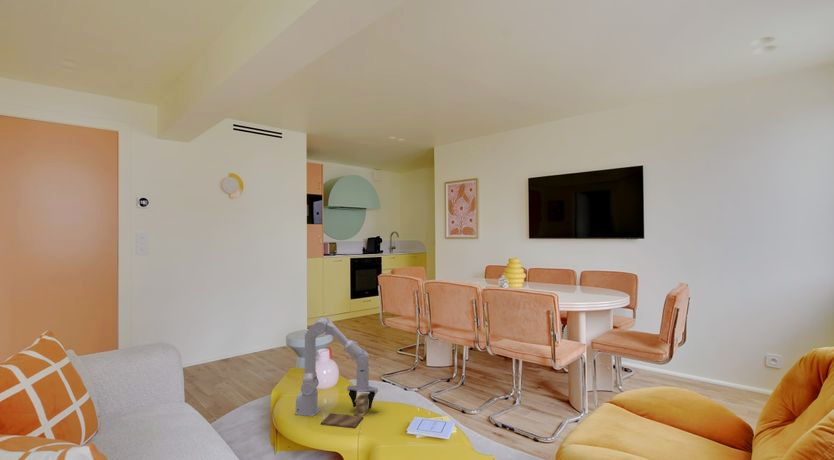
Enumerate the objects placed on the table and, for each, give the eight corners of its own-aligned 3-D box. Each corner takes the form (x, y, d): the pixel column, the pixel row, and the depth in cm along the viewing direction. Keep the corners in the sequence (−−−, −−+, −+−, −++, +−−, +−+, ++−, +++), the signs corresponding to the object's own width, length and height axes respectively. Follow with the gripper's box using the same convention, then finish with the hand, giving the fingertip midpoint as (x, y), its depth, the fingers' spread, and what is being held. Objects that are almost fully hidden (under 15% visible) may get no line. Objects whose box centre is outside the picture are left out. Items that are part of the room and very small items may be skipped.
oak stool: (354, 415, 183) (354, 400, 183) (361, 407, 192) (362, 392, 193) (362, 416, 182) (362, 401, 182) (369, 408, 192) (369, 393, 192)
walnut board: (320, 424, 173) (320, 422, 173) (330, 415, 183) (330, 413, 183) (355, 428, 170) (355, 426, 170) (363, 418, 180) (363, 416, 180)
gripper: (344, 379, 185) (344, 409, 185) (374, 381, 182) (374, 412, 182) (350, 374, 192) (350, 403, 192) (379, 377, 189) (379, 406, 189)
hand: (362, 407), depth 187 cm, fingers open, 7 cm apart
